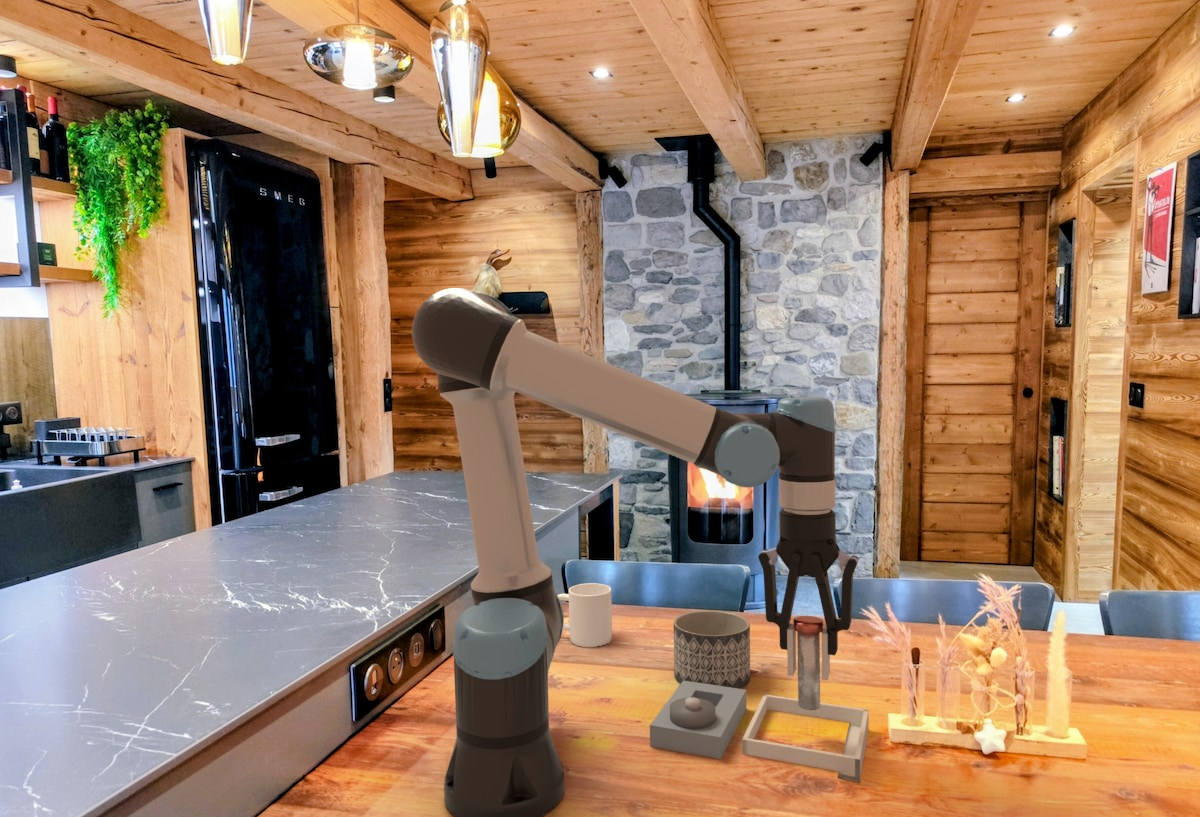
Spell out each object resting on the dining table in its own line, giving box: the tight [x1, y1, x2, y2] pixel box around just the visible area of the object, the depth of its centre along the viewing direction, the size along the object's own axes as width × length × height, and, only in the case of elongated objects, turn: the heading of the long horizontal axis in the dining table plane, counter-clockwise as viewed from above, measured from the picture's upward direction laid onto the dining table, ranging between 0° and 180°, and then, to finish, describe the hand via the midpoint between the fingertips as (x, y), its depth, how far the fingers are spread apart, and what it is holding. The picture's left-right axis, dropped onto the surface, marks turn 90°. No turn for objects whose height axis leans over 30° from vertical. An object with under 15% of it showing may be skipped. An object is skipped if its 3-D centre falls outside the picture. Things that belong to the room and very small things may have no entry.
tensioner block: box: [649, 681, 747, 760], centre depth 114 cm, size 16×10×7 cm, turn 157°
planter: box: [673, 609, 751, 689], centre depth 132 cm, size 13×13×10 cm
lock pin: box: [793, 615, 824, 710], centre depth 110 cm, size 4×4×12 cm
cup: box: [557, 582, 613, 648], centre depth 153 cm, size 8×12×10 cm
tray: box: [741, 693, 870, 783], centre depth 111 cm, size 15×15×3 cm
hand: (808, 673), depth 110 cm, fingers closed on lock pin, 4 cm apart
